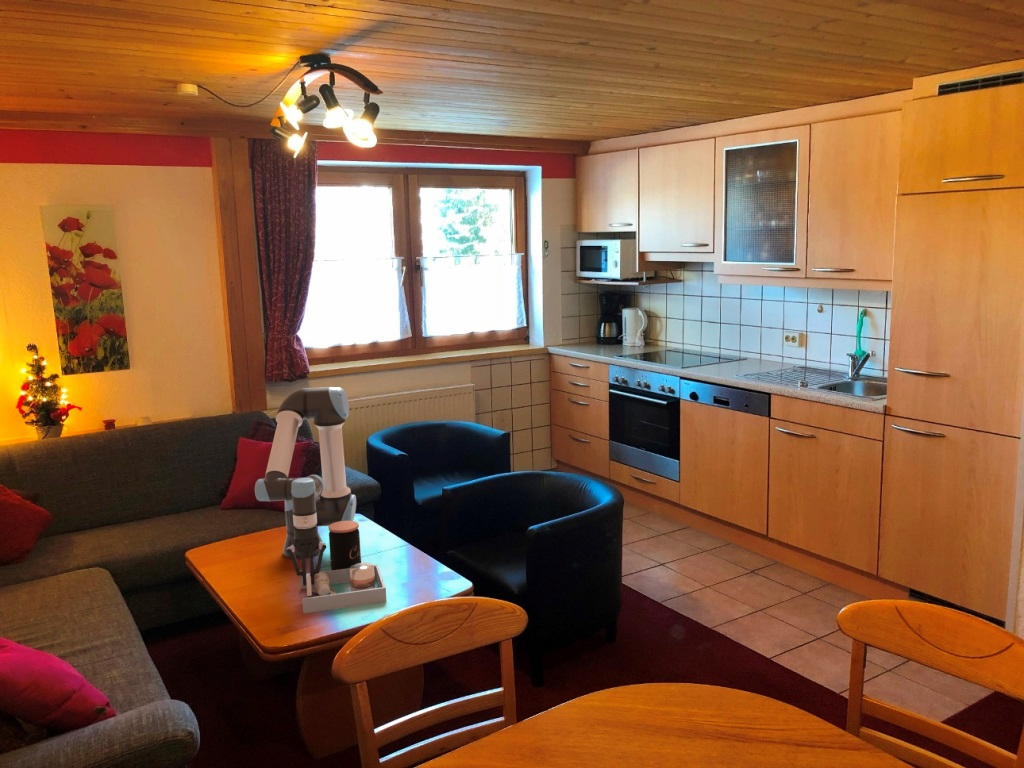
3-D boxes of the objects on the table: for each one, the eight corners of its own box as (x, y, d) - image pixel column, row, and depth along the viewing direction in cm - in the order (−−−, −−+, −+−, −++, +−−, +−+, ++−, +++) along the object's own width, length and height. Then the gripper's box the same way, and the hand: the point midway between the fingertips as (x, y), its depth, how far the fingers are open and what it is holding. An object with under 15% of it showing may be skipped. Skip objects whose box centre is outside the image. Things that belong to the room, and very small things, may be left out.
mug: (316, 599, 266) (306, 571, 270) (313, 606, 275) (304, 578, 278) (338, 591, 270) (327, 563, 273) (335, 598, 278) (325, 570, 281)
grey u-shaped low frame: (301, 588, 280) (300, 574, 279) (378, 578, 287) (377, 564, 286) (303, 614, 260) (302, 599, 259) (386, 602, 267) (385, 587, 266)
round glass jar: (350, 589, 278) (348, 564, 277) (374, 586, 280) (372, 561, 279) (352, 598, 270) (350, 573, 269) (376, 595, 273) (375, 569, 271)
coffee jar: (354, 580, 286) (351, 530, 283) (326, 578, 288) (323, 529, 285) (366, 568, 296) (363, 521, 294) (338, 567, 299) (335, 520, 296)
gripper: (285, 531, 262) (289, 601, 266) (326, 526, 266) (329, 595, 269) (284, 524, 269) (289, 592, 273) (324, 520, 273) (328, 587, 276)
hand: (309, 594), depth 271 cm, fingers closed
